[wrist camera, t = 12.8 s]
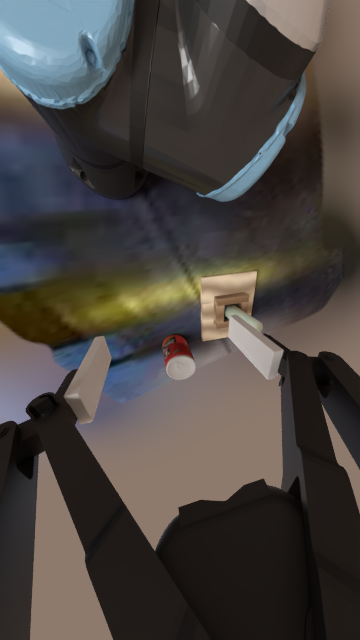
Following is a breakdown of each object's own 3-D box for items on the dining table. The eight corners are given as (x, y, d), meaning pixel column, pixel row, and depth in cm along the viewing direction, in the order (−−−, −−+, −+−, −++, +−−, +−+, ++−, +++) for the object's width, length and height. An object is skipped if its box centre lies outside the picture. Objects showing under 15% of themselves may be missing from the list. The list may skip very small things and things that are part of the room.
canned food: (170, 329, 47) (176, 352, 37) (191, 340, 50) (202, 362, 40) (157, 349, 49) (160, 374, 39) (178, 357, 52) (185, 383, 42)
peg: (220, 302, 46) (247, 323, 34) (232, 300, 47) (264, 320, 34) (219, 314, 48) (245, 338, 36) (231, 312, 48) (261, 335, 36)
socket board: (200, 277, 42) (205, 280, 38) (254, 270, 44) (264, 272, 40) (201, 339, 51) (205, 346, 47) (246, 331, 53) (253, 337, 49)
